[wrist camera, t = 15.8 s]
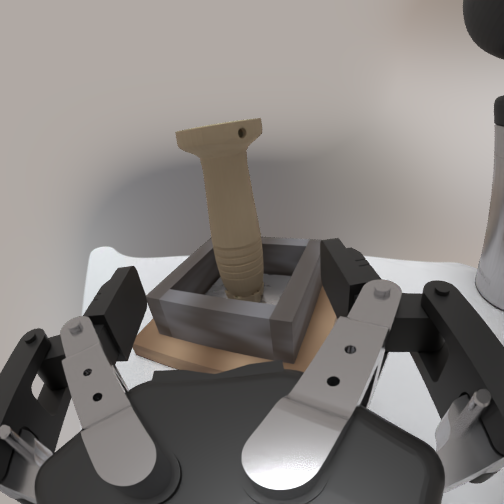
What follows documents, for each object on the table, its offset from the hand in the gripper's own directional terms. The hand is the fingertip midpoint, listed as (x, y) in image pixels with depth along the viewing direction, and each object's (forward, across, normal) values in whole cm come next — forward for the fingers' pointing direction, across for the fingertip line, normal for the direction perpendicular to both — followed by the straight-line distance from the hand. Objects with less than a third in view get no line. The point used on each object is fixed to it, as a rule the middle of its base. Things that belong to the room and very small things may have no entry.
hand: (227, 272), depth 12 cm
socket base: (+11, 0, +12) cm, 16 cm away
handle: (+11, 0, +9) cm, 15 cm away
